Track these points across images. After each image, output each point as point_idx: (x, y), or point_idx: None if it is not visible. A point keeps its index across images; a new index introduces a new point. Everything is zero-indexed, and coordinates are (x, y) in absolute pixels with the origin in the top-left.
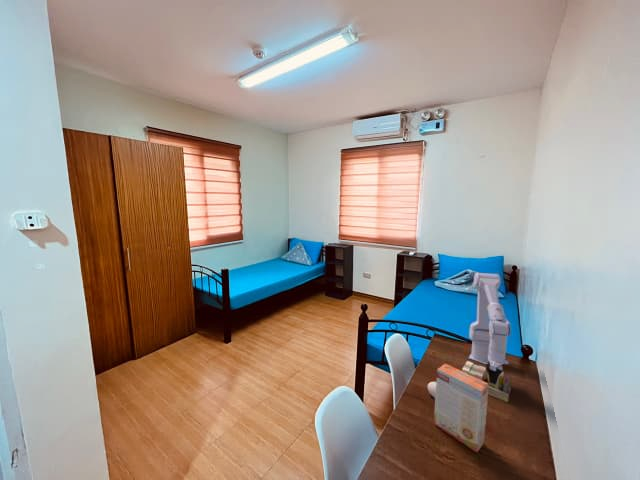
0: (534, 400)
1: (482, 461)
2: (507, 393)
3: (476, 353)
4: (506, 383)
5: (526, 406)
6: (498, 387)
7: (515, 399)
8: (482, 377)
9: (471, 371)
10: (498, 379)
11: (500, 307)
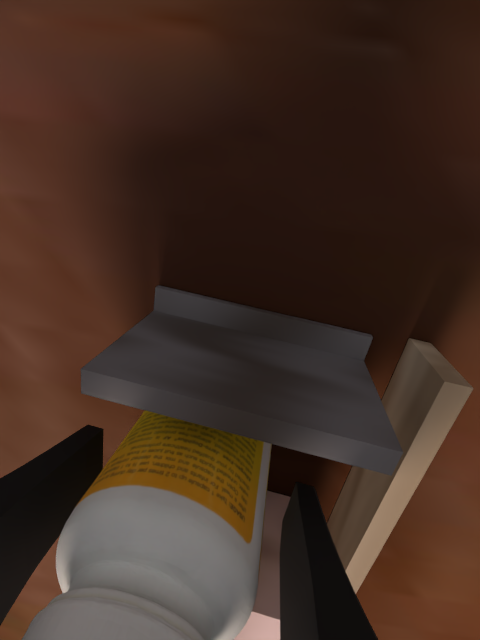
0: (244, 58)
1: None
2: (283, 331)
3: None
4: (316, 434)
5: (423, 168)
6: None
7: (338, 267)
8: (269, 581)
9: None
10: (258, 497)
11: None
